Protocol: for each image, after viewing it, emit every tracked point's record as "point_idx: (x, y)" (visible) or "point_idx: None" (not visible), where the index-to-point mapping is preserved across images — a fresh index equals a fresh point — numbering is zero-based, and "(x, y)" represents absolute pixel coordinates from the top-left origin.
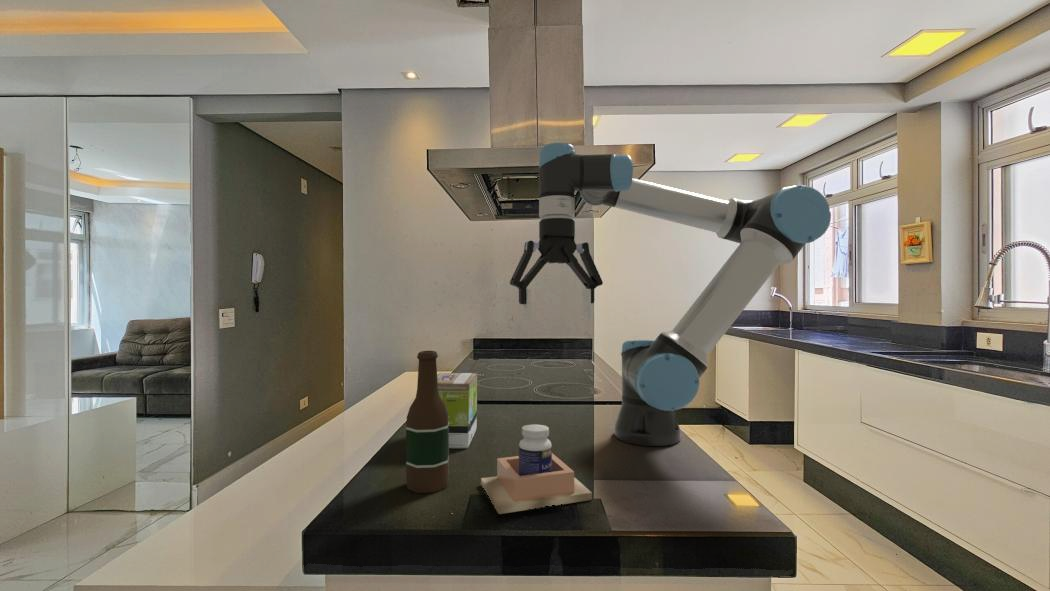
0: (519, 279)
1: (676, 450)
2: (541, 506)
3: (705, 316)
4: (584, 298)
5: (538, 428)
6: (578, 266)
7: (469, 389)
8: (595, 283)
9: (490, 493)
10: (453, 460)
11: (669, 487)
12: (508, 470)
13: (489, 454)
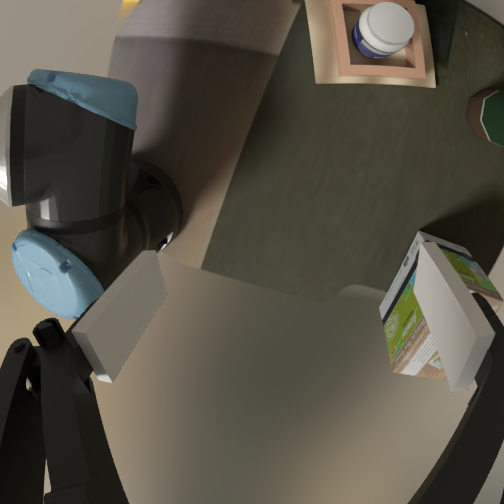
0: None
1: None
2: None
3: None
4: (124, 329)
5: (388, 15)
6: (62, 459)
7: None
8: (39, 357)
9: (430, 39)
10: (447, 189)
11: (190, 18)
12: (418, 30)
13: (397, 196)
